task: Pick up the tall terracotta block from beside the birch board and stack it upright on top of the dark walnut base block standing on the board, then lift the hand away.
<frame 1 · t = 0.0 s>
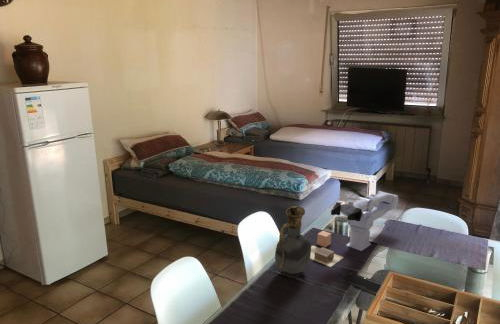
hand: (339, 215, 168), 22 cm above the table, tool horizontal, fingers open, 7 cm apart
board: (321, 256, 178), on the table
base block: (324, 258, 176), point 1 cm above the table, touching board
pitcher: (290, 275, 163), on the table
phone: (364, 285, 157), on the table
top block: (323, 245, 188), on the table
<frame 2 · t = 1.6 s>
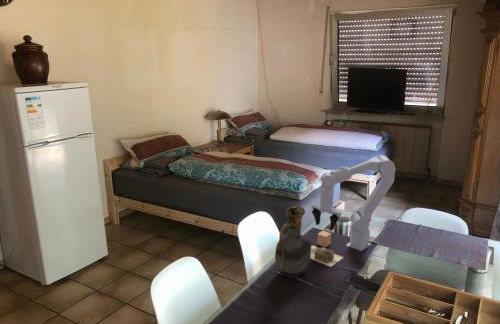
hand: (324, 226, 185), 9 cm above the table, tool pointing down, fingers open, 7 cm apart
nothing on the table moved.
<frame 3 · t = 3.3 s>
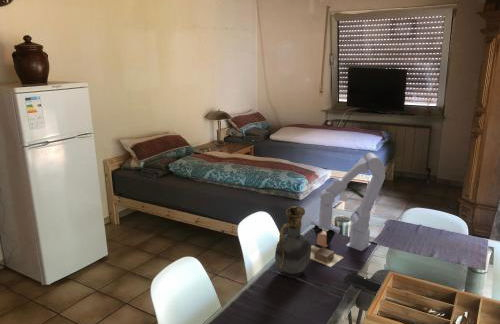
hand: (323, 242, 188), 1 cm above the table, tool pointing down, fingers closed on top block, 4 cm apart
top block: (323, 245, 188), on the table, touching gripper
everything else where it was.
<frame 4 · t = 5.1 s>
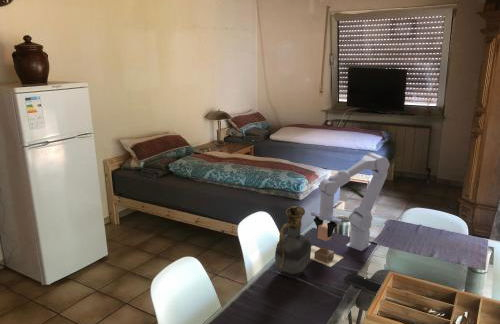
hand: (324, 234, 180), 8 cm above the table, tool pointing down, fingers closed on top block, 4 cm apart
top block: (324, 238, 180), point 7 cm above the table, touching gripper
everything else where it was.
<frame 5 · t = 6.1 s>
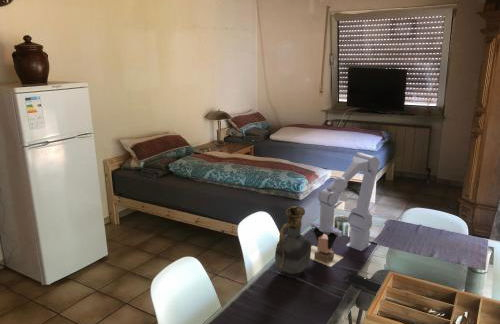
hand: (324, 246, 174), 6 cm above the table, tool pointing down, fingers closed on top block, 4 cm apart
top block: (324, 249, 174), point 5 cm above the table, touching gripper
everything else where it was.
when the fingers open (6 cm above the table, at t = 6.8 s): top block stays where it is, resting on base block.
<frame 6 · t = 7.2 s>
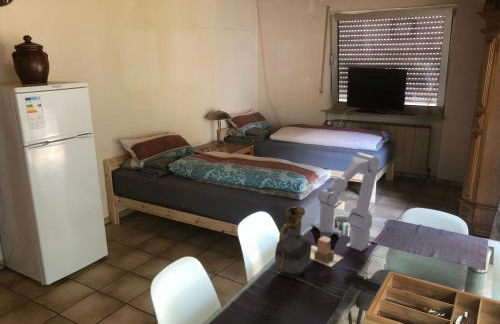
hand: (324, 246, 174), 6 cm above the table, tool pointing down, fingers open, 7 cm apart
base block: (324, 258, 176), point 1 cm above the table, touching board, top block
top block: (324, 251, 175), point 4 cm above the table, touching base block
everything else where it was.
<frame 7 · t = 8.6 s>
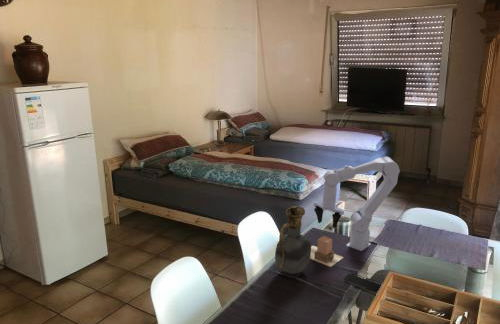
hand: (327, 224, 185), 10 cm above the table, tool pointing down, fingers open, 7 cm apart
nothing on the table moved.
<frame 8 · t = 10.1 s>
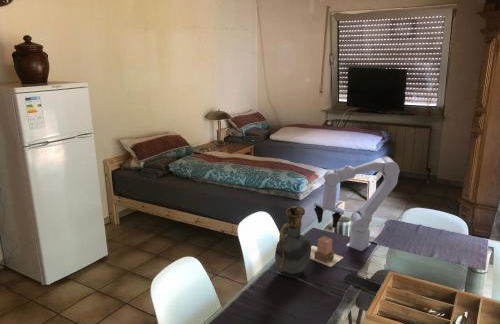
hand: (327, 224, 185), 10 cm above the table, tool pointing down, fingers open, 7 cm apart
nothing on the table moved.
at the end: top block 0.0 cm off-centre on the base block, point 3.0 cm above the base block's base; top block tilted 0°; top block touching base block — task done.
